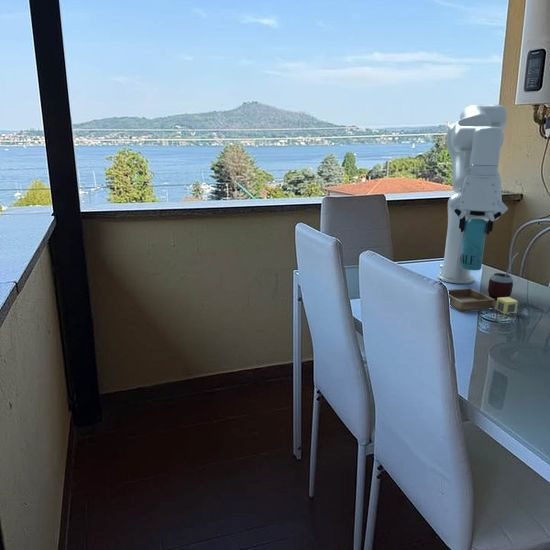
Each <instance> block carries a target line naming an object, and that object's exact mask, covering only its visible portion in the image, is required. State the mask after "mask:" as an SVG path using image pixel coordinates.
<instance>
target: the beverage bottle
mask: <svg viewBox="0 0 550 550" xmlns="http://www.w3.org/2000/svg"><path fill="white" fill-rule="evenodd" d="M470 215H475V216H484V215H485V212H479V211H470ZM487 225H488V221H485V220H484V219H480V218H469V219H468V220H467V221H466V222H465V229H464V233H463V240H462V241H463V244H462V252H461V256H460V267H461V268H462V269H466V270H471V271H479V270H481V269H482V267H483V259H484V253H485V242H486V236H487V234H486V232H487Z"/></svg>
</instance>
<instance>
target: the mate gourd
mask: <svg viewBox="0 0 550 550" xmlns="http://www.w3.org/2000/svg"><path fill="white" fill-rule="evenodd" d="M518 254H519V252H517V253H516V254H515V255H513V257H512V258H511V259H510V261H509V265H508V267H507V269H506V273H501V272H498V273H497V272H496V273H493V274H492V275H491V276H490V277H489V280H488V287H487V291H488V292H487V293H488V296H489V297H491V298H493V299H495V300H497V298H501V297H510V296H511V294H512V290H513V287H514V279H513V278H512V276H511V275H510V274H509V273H510V270H511V267H512V264H513V263H514V259H515V258H516V257H517V256H518Z"/></svg>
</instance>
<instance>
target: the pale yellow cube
mask: <svg viewBox="0 0 550 550" xmlns="http://www.w3.org/2000/svg"><path fill="white" fill-rule="evenodd" d="M495 304H496V305H495V310H496V309H497V310H499V311H501V312H502V313H504V314H507V315H510V314H509V313H516V314H517V311H518V304H519V301H518V300H516V299H514V298H512V297H510V296H509V297H501V298H497V299H496V302H495ZM502 313H501V314H502ZM504 314H503V315H504Z"/></svg>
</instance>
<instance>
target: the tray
mask: <svg viewBox="0 0 550 550" xmlns="http://www.w3.org/2000/svg"><path fill="white" fill-rule="evenodd" d="M447 290H448V291H449V298H450V305H451V306H452V307H451V306H450V307H451V308H453V309H454V308H455V309H454V310H456V311H458V312H459V313H465V312H466V311H467V312H476V311H477V310H478V311H485V310H484V309H488V310H490V309H489V308H494V309H495V306H496V305H495V304H496V299H493V298H491V297H489V295H486V294H485V293H482V292H481V291H478V290H476V289H475V288H472V287H469V288H468V287H467V288H456V289H447Z"/></svg>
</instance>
